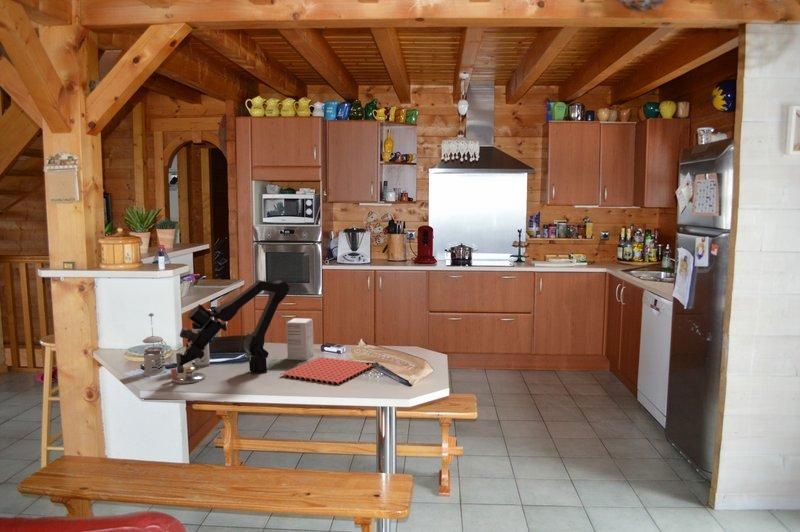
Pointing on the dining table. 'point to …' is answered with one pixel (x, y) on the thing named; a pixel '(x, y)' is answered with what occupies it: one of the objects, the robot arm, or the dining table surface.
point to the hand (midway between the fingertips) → (180, 364)
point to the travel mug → (205, 359)
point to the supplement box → (300, 339)
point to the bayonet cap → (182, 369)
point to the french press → (156, 356)
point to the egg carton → (327, 370)
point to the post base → (189, 380)
